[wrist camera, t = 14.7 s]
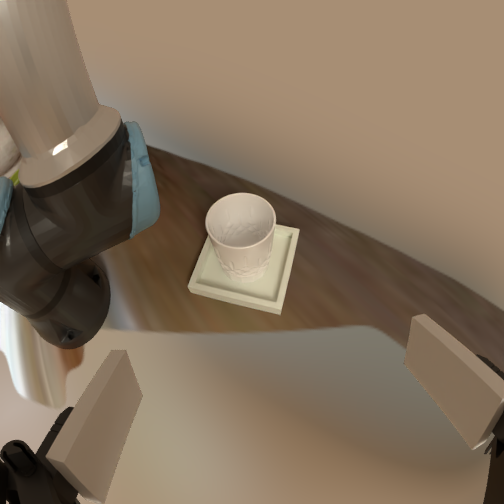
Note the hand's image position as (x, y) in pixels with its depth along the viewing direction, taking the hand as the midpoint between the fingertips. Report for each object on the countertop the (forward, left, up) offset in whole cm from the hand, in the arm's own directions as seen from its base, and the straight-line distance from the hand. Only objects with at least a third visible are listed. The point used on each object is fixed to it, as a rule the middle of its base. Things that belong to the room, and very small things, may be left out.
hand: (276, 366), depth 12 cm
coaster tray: (-7, +17, -23) cm, 30 cm away
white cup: (-7, +17, -23) cm, 29 cm away
